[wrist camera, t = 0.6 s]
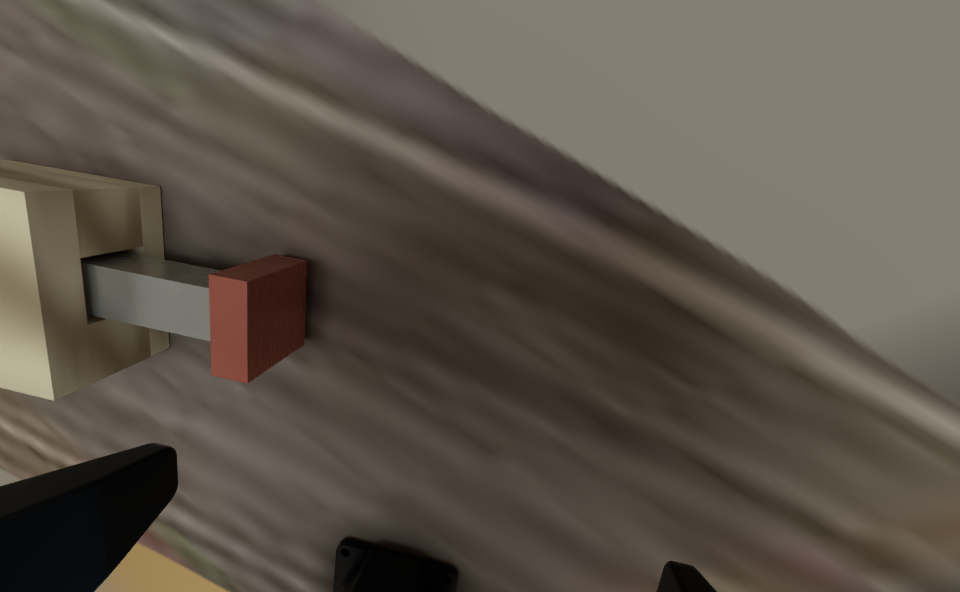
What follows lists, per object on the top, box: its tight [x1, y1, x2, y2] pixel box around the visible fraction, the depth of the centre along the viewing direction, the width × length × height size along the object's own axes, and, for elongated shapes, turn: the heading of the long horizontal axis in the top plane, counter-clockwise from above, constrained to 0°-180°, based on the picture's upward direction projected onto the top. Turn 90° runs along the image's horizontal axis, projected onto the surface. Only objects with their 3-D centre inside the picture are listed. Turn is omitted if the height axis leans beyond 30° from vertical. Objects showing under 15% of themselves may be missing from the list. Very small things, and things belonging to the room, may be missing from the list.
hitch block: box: [0, 160, 170, 401], centre depth 20 cm, size 8×8×6 cm
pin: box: [80, 251, 307, 383], centre depth 19 cm, size 4×12×4 cm, turn 82°
